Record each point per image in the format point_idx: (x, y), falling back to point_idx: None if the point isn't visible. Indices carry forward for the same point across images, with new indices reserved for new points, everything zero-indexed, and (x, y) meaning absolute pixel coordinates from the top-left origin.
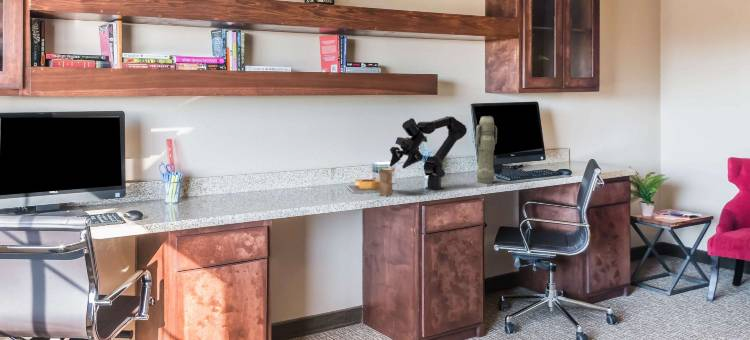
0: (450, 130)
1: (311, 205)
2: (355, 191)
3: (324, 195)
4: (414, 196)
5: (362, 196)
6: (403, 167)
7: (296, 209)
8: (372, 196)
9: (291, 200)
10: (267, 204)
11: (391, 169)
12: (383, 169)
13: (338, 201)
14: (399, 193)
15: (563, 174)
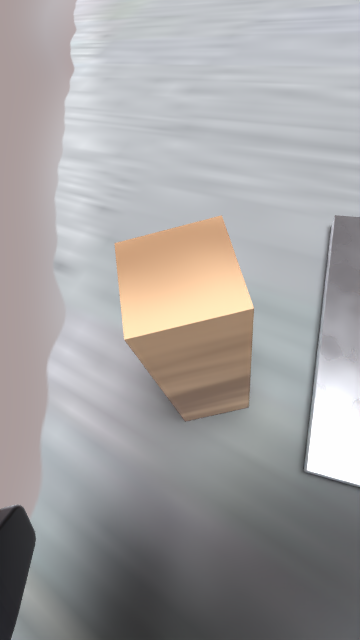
0: None
1: (107, 76)
2: (332, 227)
3: (304, 117)
4: None
5: None
6: (5, 529)
7: (74, 52)
8: None
9: (225, 42)
10: (185, 9)
11: (123, 326)
12: (169, 236)
13: (130, 138)
14: (226, 521)
15: None
